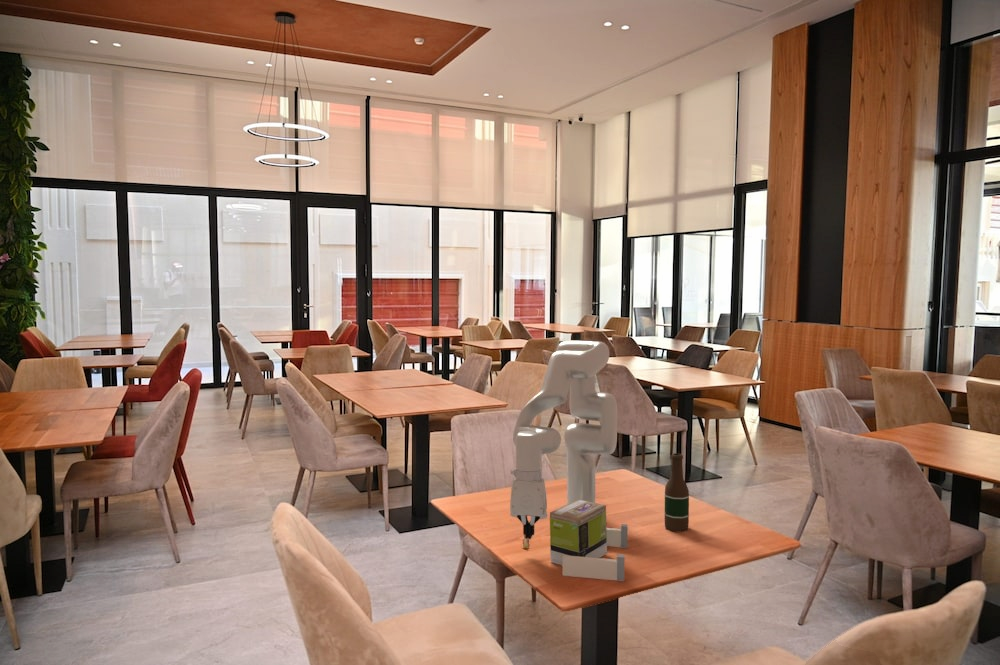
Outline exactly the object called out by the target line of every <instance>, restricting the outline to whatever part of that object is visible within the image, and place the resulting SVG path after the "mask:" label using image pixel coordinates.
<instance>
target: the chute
mask: <svg viewBox="0 0 1000 665" xmlns="http://www.w3.org/2000/svg"><path fill="white" fill-rule="evenodd" d="M620 525H621V526H620V527H621V528H614V527H613V528H612V527H606V531H607V532H606V533H607V541H606V542H607V547H613V548H614V547H615V548H616V547H617V548H625V549H627V548H628V535H629V534H628V533H629V532H628V526H629V525H628V524H626V523H624V524H620ZM616 558H617V559H616ZM616 558H615V559H614V558H603V557H600V558H591V557H579V556H567V555H563V566H562V576H563V577H571V578H572V577H575V578H585V579H586V578H587V579H596V580H607V581H617V582H625V554H617V556H616Z"/></svg>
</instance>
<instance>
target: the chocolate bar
mask: <svg viewBox="0 0 1000 665" xmlns="http://www.w3.org/2000/svg"><path fill="white" fill-rule="evenodd" d="M523 536H524V539H523V538H522V544H523V548H529V549H530V544H529V538H527V539H525V534H523Z"/></svg>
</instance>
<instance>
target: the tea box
mask: <svg viewBox="0 0 1000 665" xmlns="http://www.w3.org/2000/svg"><path fill="white" fill-rule="evenodd" d="M606 528H607V505H606V504H602V503H596V502H595V503H592V502H588V501H583V500H579V499H578V500H575V501H573V502H571V503H569V504H567V503H566V504H565V505H563V506H561V507H559V508H556V509H554V510H553V511H550V512H549V534H550V535H549V536H550V537H549V538H550V540H549V543H550V544H549V545H550V552H549V553H550V563H553V564H556V565H559V566H562V567H563V555H567V556H579V557H591V558H603V557H604V556H605V555H607V554H608V551H607V550H608V546H607V542H606V541H607V533H606V532H607V531H606Z"/></svg>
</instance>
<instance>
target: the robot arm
mask: <svg viewBox="0 0 1000 665" xmlns="http://www.w3.org/2000/svg"><path fill="white" fill-rule="evenodd" d="M609 360H610V348H609V346H608V345H607V344H606V343H605V342H603V341H597V340H595V341H594V340H576V339H575V340H574V339H573V340H568V339H567V340H564V341H561V342H560V343H559V344H558V345H557V351H554V352H553V353H552V354H551V355H550V358H549V360H548V363H547V366H546V371H545V374H544V376H543V380H542V384H541V388H540V391H539V392H538V393H537V394H536V395H535V396H533V397H532V398H531V399H529V401H528V402H526V404H525V405H524V406H523V407H522V408H521V410H520V411H519V413H518V416H517V417H516V422H515V425H514V429H513V433H512V441H513V445H514V446H515V468H513V469H510V475H513V476H514V478H513V479H512V483H511V488H510V499H509V501H510V504H509V509H510V516H511V517H514V518H516V519H518V521H520V522H521V523H522V525H523V526H522V528H523V529H522V532H523V535H524V534H525V539H527V538H529V539H530V540H531V539H532V538H533V536H534V535H535V524H536V523H537V522H538V521H539V520H544V519H547V518H548V512H547V510H548V509H547V508H548V505H547V504H548V500H547V488H546V482H545V479H544V478H543V477H542V476H543V474H542V473H543V472H542V471H543V459H542V458H543V456H542V455H547V454H552V453H555V452H556V451H557V450H558V449H559V447H560V446H561V442H562V437H561V436H562V435H561V433H560V432H559V430H557V429H556V428H554V427H548V426H542V425H541V426H540V425H531V424H532V422H533V421H534V419H535V418H536V417H537V416H538V415H540V414H541V413H543V412H546V411H548V410H550V409H553V408H555V407H558V406H561V405H563V404H565V402H566V401H567V399H568V396H569V414H570V415H571V417H572V418H575V419H577V420H585V421H594V422H599V424H592V423H584V422H574V423H573V422H572V423H571V424H569V425H567V426H566V428H565V430H564V435H563V438H564V445H565V446H564V447H565V449H566V450H565V451H566V468H567V469H566V477H567V478H566V480H567V481H566V505H567V504H569V503H571V502H573V501H575V500H578V499H579V500H583V501H588V502H592V503H596V470H597V469H596V468H597V466H596V462H595V460H594V458H593V456H592V454H595V455H601V456H603V455H604V456H609V455H612V454H613V453H614V452H615V451H616V447H617V443H618V402H617V400H616V398H615V396H614V395H613V394H611V393H608V392H601V391H597V390H596V374H597V373H598V372H600V371H601V370H602V369H603V368H605V367H606V365H607V364H608V362H609ZM528 516H529V517H530V520H528Z"/></svg>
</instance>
